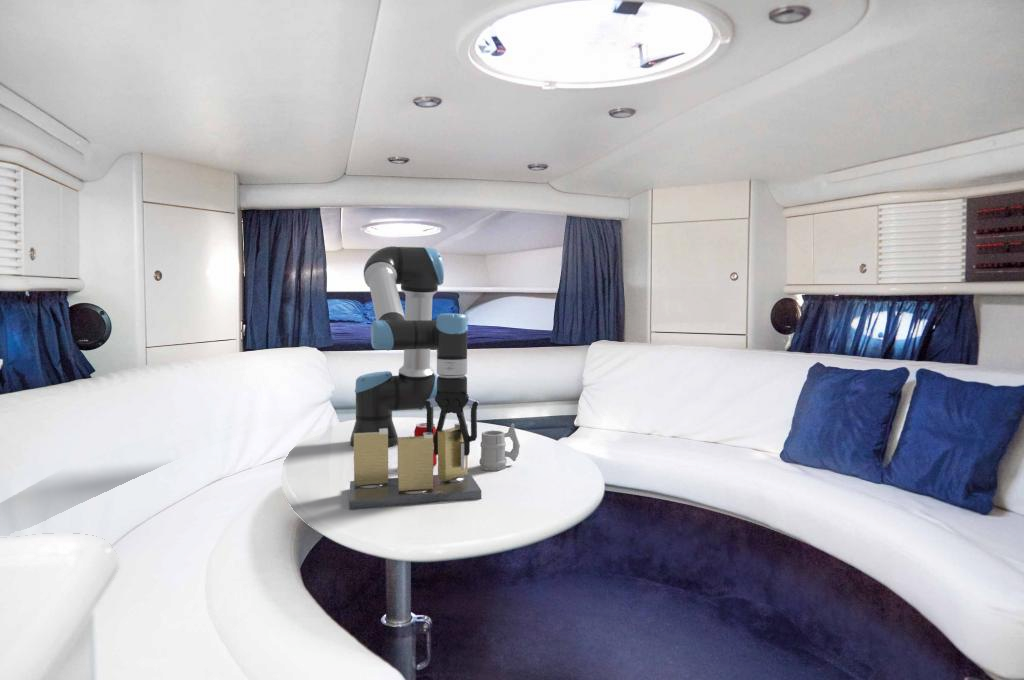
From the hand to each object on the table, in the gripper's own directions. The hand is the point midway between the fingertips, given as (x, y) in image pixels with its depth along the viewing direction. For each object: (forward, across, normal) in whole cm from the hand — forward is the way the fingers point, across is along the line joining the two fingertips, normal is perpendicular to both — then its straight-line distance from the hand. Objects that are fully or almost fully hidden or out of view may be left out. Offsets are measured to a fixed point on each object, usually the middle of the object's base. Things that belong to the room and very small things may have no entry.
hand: (451, 467), depth 145 cm
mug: (+5, +11, +19) cm, 22 cm away
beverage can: (+5, -10, +17) cm, 21 cm away
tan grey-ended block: (+2, -7, -10) cm, 12 cm away
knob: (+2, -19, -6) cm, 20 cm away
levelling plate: (+5, -8, -6) cm, 11 cm away
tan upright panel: (+2, 0, 0) cm, 2 cm away
